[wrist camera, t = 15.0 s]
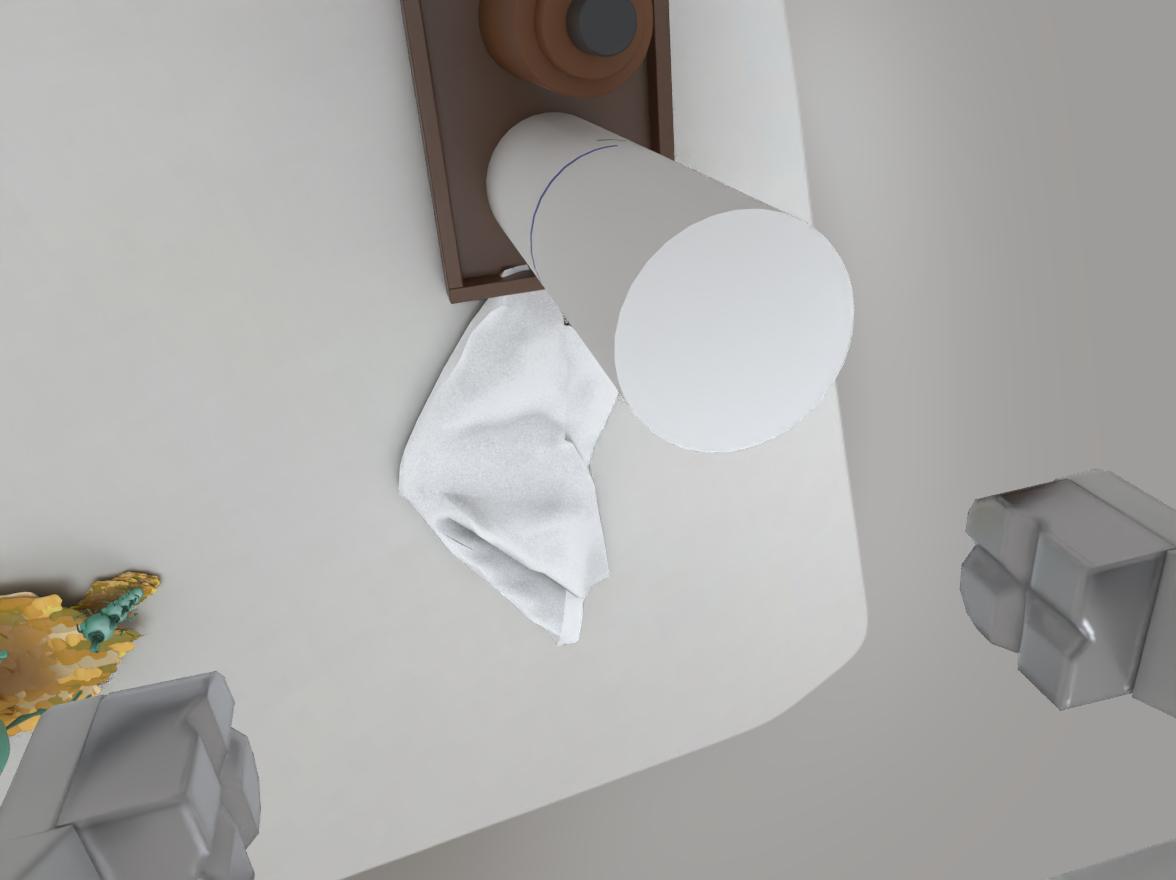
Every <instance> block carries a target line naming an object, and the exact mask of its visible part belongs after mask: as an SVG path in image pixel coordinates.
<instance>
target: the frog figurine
mask: <svg viewBox="0 0 1176 880" xmlns="http://www.w3.org/2000/svg"><path fill="white" fill-rule="evenodd" d="M160 583H161V582H160V579H159V577H156V576H151V575H148V576H147V574H145V573H135V572H132V573H130V572H125V574H124V573H123V574H120V576H119V577H115V578H114V579H112V580H108V581H101V582H100V581H96V582H95V583H93V584H92V586H93V587H91V588H90V589H89V590H90V591H87V592H86V594H89V595H87V596H86V598H85V599H84V600H80V601H79V603H77V604H76V605H75V604H74V605H73V606H74V607H70V609H68V608H63V607H62V606H61V603H62V599H61V598H60V597H59V596H58V595H55V594H54V595H49V596H46V597H41V598H39V597H38V596H37V595H35V594H34V593H31V592H19V593H14V594H11V595H3V596H0V775H1V773H2V771H3V769H4V767H5V765H6V763H7V760H8V757H9V753H10V742H9V737H8V735H9V736H14V735H16V734H17V733H19V732H20V731H31V730H32V729H33V728H35V727H36V725H37V722H38V720H39V718H40V716H41V715H42V714H43V713H44V712H45V711H47V710H48V709H49V708H51V707H52V706H54V705H58V704H63V703H67V702H72V701H76V700H81V699H85V698H90V697H94V696H95V694H100V693H101V691H102V690H101V689H100V687H99V686H97V685H96V684H99V683H101V682H102V683H103V681H105V680H108V679H104V678H109V676H110V674H111V673H114V672H116V671H117V667H116V666H115V665H116V664H118V663H119V662H120V658H121V657H122V656H124V655H125V654H126V652H128V651H131V650H132V649H133V648H134V646H135V645H136V644H133V643H132V642H131V641H133V640H136V639H137V638H138V637H141V636H143V635H140V634H139V633H137V632H136V631H135V630H133V629H120V628H119V627H118V626H117V624H116V623H120V622H122V621H132V620H133V619H134V618H135V617H136V615H138V613H136V614H135V613H134V615H135V616H134V618H133V619H132V620H124V619H125V618H126V616H127V615H130V614H131V612H130V611H132V609H133V610H137V609H136V606H135V605H137V604H139V602H142V601H143V600H144V599H146V598H147V596H149V595H152V594H154V593H156V592H157V589H156V588H157V587H158V586H159V584H160ZM87 617H88V618H87ZM146 635H147V634H146ZM111 679H112V678H111ZM106 682H108V681H106Z"/></svg>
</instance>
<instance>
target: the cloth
mask: <svg viewBox="0 0 1176 880" xmlns="http://www.w3.org/2000/svg"><path fill="white" fill-rule="evenodd" d="M524 270H529V268H528V265H527V264H526V265H521V266H516V267H513V268H510V269H507V270H504V271H503V272H502V273H501V274H500V276H501V277H506V276H509V275H511V274H514V273H517V272H519V271H524ZM618 392H619V391H618V390H617V389H616V387H615V386H614V384H613V383H612V382H611V380H610V379H609V377H608V376H607V374H606V373H605V372H604V370H603V369H602V367H601V366H600V365H599V363H598V362H597V360H596V359H595V358H594V356H593V355H592V353H591V352H590V351H589V349H588V348H587V346H586V345H585V344H584V342H583V341H582V339H581V338H580V337H579V335H578V334H577V332H576V331H575V330H574V328H573V327H572V326H570V325H564V320H563V316H562V312H561V310H560V309H559V307H558V306H557V305H556V303H555V302H554V300H553V299H552V298H551V296H550V295H549V293H548V292H547V291H546V289H545V290H538V291H532V292H525V293H519V294H512V295H506V296H499V297H493V298H488V300H487V301H486V302H485V304H484V305H483V306H482V308H481V309H480V310H479V312H478V313H477V314H476V316H475V317H474V318H473V320H472V321H471V322H470V324H469V325H468V327H467V329H466V331H465V332H464V334H463V336H462V338H461V339H460V341H459V343H458V344H457V346H456V348H455V350H454V351H453V353H452V355H451V357H450V358H449V360H448V362H447V363H446V365H445V367H444V369H443V370H442V372H441V374H440V376H439V378H438V380H437V382H436V384H435V386H434V388H433V390H432V392H431V394H430V396H429V398H428V400H427V402H426V404H425V406H424V408H423V410H422V412H421V414H420V416H419V418H418V420H417V422H416V424H415V427H414V429H413V431H412V434H411V436H410V438H409V441H408V443H407V445H406V448H405V450H404V453H403V457H402V461H401V464H400V470H399V494H400V495H401V496H403V497H404V498H406V499H407V500H408V501H410V502H411V503H412V504H413V506H414V507H415V508H416V509H417V511H418V512H419V513H420V514H421V516H422V517H423V518H424V519H425V521H426V522H427V523H428V524H429V526H430V527H431V528H432V529H433V530H434V531H435V533H436V534H437V535H438V536H439V538H440V539H441V540H442V542H443V543H444V544H445V545H446V546H447V547H448V548H449V550H450V551H451V552H452V553H453V554H454V555H455V556H456V557H458V558H459V559H460V560H461V561H462V562H464V563H465V564H466V565H467V566H468V567H470V568H471V569H472V570H473V571H474V572H476V573H477V574H478V575H479V576H481V577H482V578H483V579H484V580H485V581H487V582H488V583H489V584H490V585H492V586H493V587H494V588H495V589H496V590H498V591H499V592H500V593H501V594H502V595H504V596H505V597H506V598H507V599H508V600H510V601H511V602H512V603H513V604H514V605H516V606H517V607H518V608H519V609H520V610H521V611H522V612H523V613H524V614H525V615H526V616H527V617H528V618H529V619H530V620H531V621H532V622H534V623H536V624H538V625H540V626H542V627H543V628H545V629H546V630H547V631H548V633H549V634H550V636H551V638H552V639H553V641H554V642H555V644H556V646H562V645H567V644H572V643H575V642H577V641H578V640H579V635H580V630H581V624H582V612H583V599H585V598H586V597H587V595H588V593H589V591H590V589H591V587H592V586H593V585H594V584H596V583H598V582H600V581H602V580H604V579H606V578H608V577H610V575H609V568H608V562H607V556H606V549H605V543H604V537H603V531H602V526H601V521H600V516H599V510H598V504H597V497H596V491H595V484H594V482H593V480H592V478H591V476H590V473H589V471H588V466H589V463H590V460H591V456H592V453H593V447H594V445H595V443H596V441H597V439H598V437H599V436H600V434H601V432H602V430H603V428H604V426H605V424H606V422H607V419H608V417H609V415H610V413H611V410H612V408H613V406H614V404H615V401H616V398H617V395H618Z"/></svg>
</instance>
